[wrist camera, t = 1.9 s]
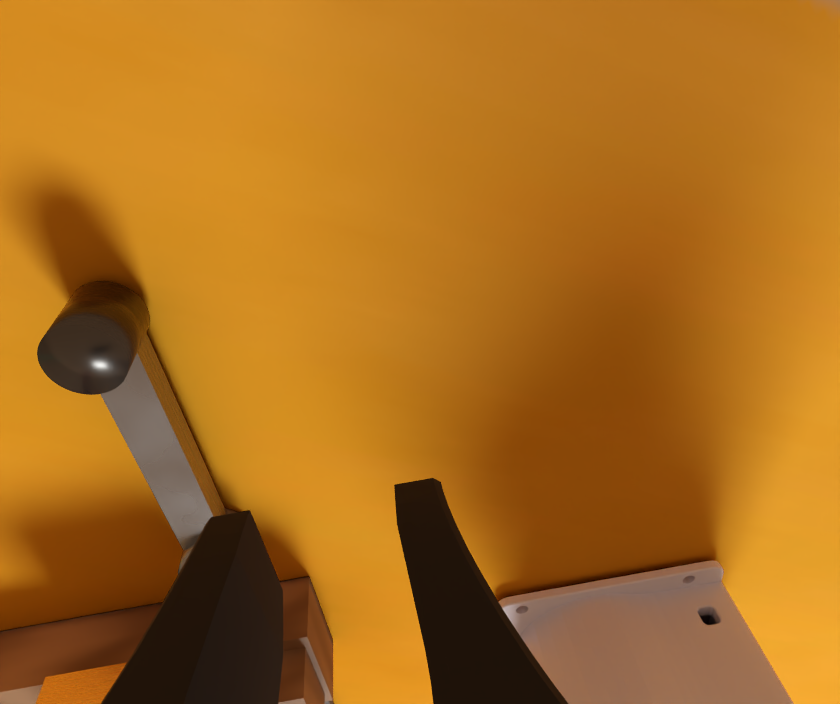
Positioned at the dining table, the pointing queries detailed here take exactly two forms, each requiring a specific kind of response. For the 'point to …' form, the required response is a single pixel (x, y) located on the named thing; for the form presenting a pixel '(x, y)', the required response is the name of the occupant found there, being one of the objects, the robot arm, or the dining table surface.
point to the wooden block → (79, 686)
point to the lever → (133, 398)
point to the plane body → (122, 631)
